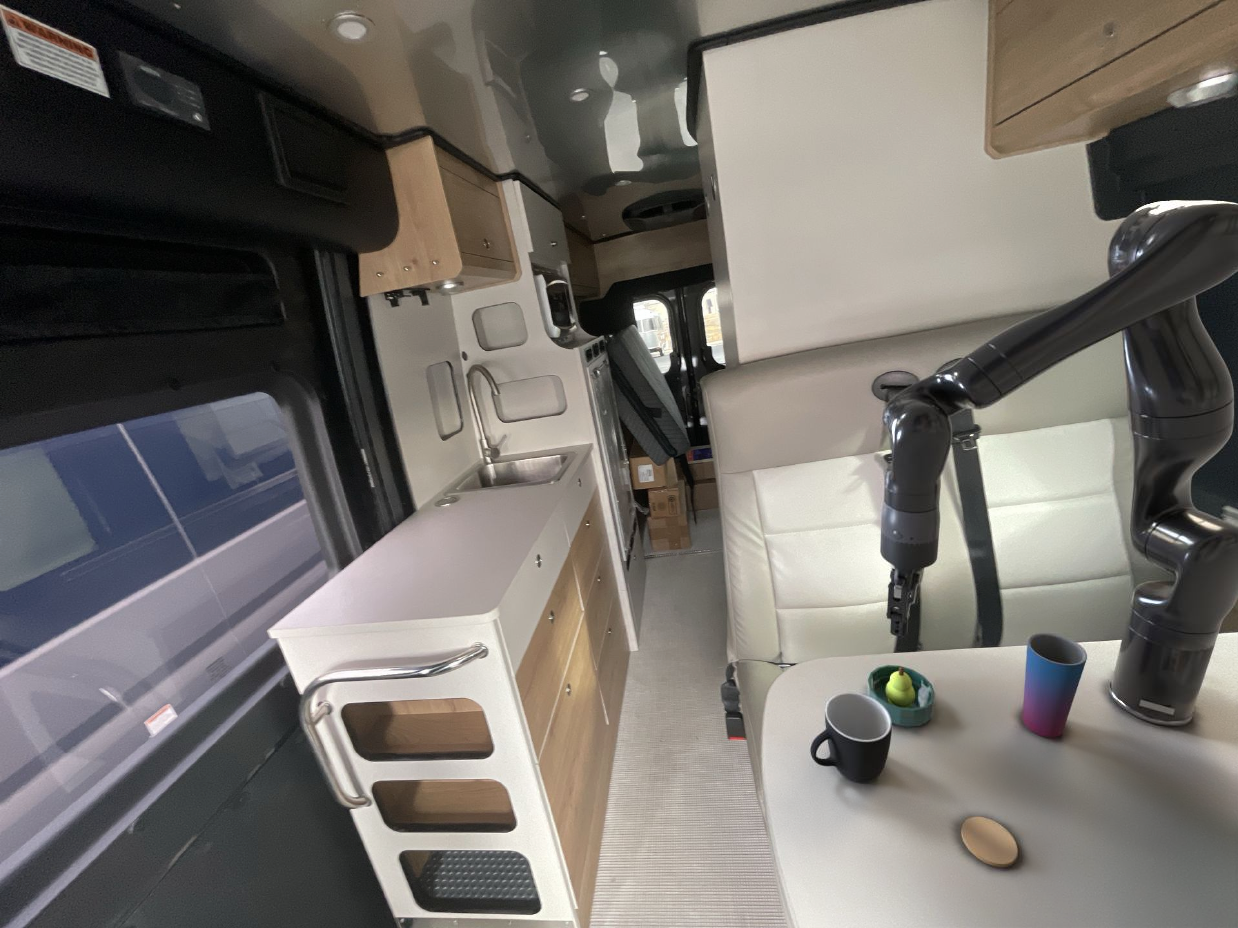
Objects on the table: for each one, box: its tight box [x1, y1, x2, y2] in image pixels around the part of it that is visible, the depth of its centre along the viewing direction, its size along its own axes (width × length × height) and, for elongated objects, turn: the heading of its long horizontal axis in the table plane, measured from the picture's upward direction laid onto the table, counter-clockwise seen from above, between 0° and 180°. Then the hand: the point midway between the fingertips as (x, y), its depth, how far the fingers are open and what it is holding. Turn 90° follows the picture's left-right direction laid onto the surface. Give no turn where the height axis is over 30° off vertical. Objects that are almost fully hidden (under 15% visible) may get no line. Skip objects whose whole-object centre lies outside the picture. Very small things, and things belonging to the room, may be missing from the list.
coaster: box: [960, 816, 1019, 868], centre depth 69 cm, size 6×6×1 cm
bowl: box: [866, 664, 936, 728], centre depth 89 cm, size 10×10×4 cm
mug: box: [809, 692, 893, 784], centre depth 79 cm, size 12×9×10 cm
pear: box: [886, 667, 915, 708], centre depth 89 cm, size 4×4×8 cm
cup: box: [1021, 632, 1088, 739], centre depth 80 cm, size 7×7×15 cm
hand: (904, 618), depth 84 cm, fingers open, 8 cm apart
